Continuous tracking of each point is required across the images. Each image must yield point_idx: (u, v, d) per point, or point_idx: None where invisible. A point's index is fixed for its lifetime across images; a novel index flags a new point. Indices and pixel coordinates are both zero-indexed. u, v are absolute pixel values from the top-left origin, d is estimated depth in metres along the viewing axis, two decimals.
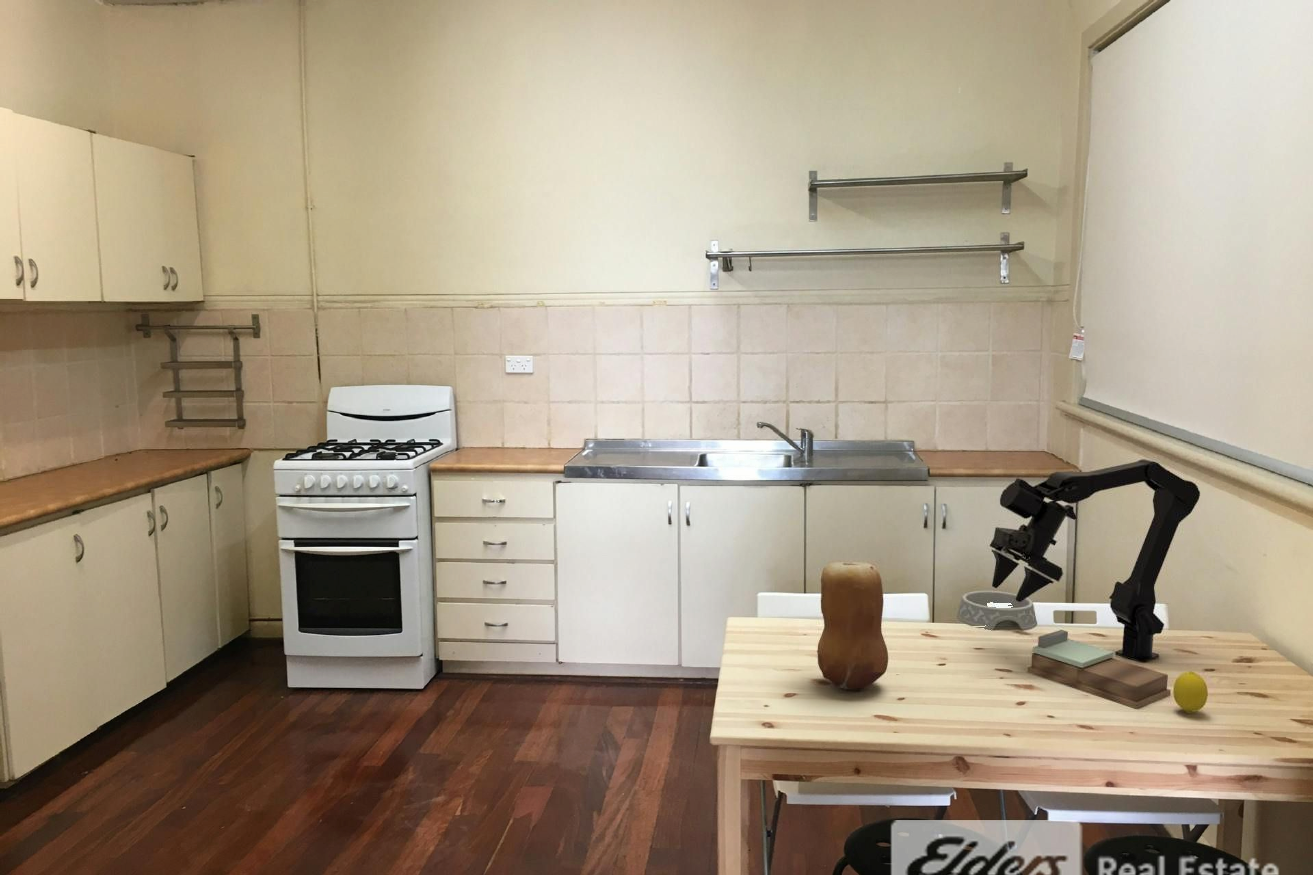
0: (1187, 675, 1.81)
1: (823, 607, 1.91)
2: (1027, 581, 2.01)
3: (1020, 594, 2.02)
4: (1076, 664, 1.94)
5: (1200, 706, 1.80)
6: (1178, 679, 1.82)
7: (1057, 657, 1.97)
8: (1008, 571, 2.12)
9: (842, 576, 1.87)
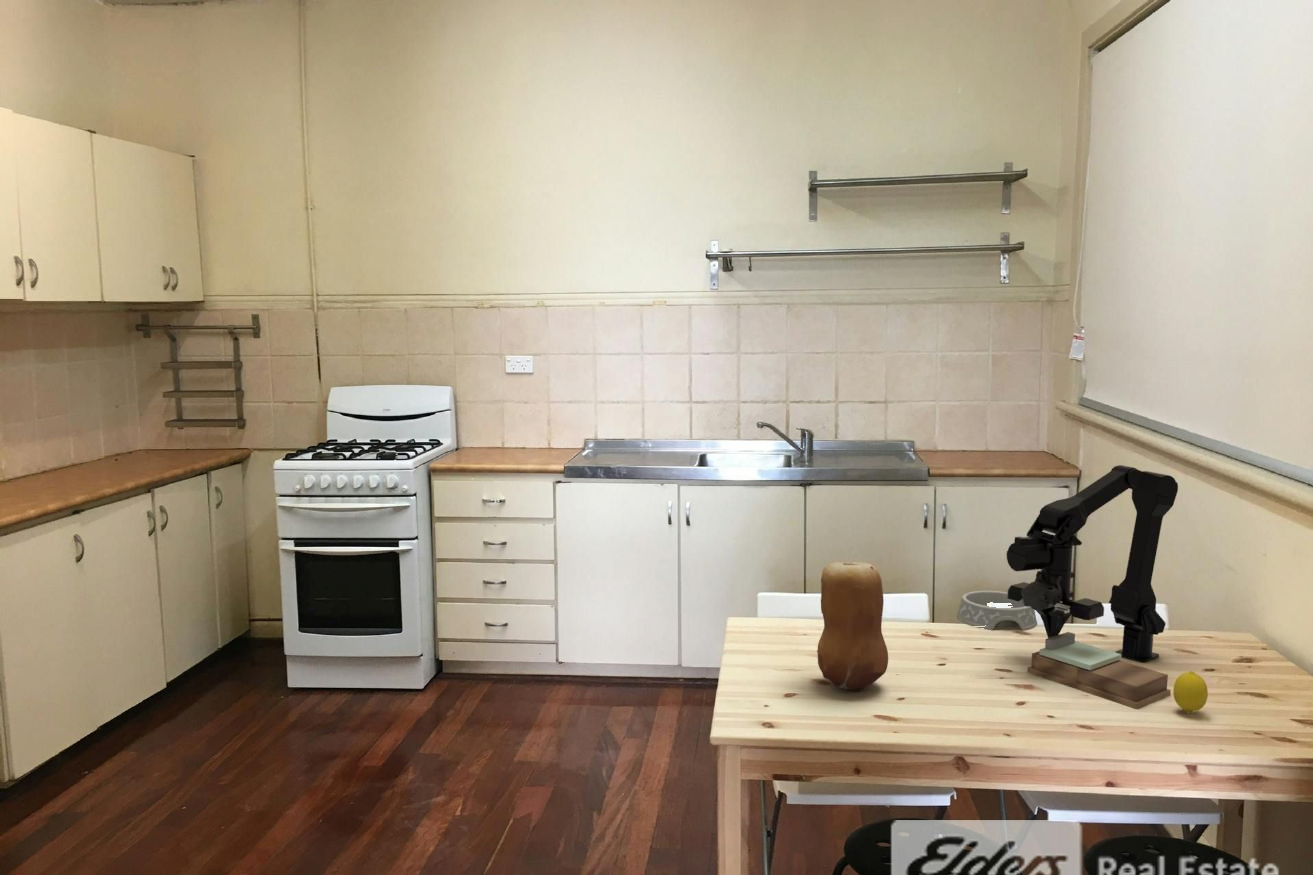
0: (1187, 675, 1.81)
1: (823, 607, 1.91)
2: (1056, 623, 2.02)
3: (1054, 635, 2.03)
4: (1084, 666, 1.93)
5: (1200, 706, 1.80)
6: (1178, 679, 1.82)
7: (1064, 659, 1.96)
8: None
9: (842, 576, 1.87)
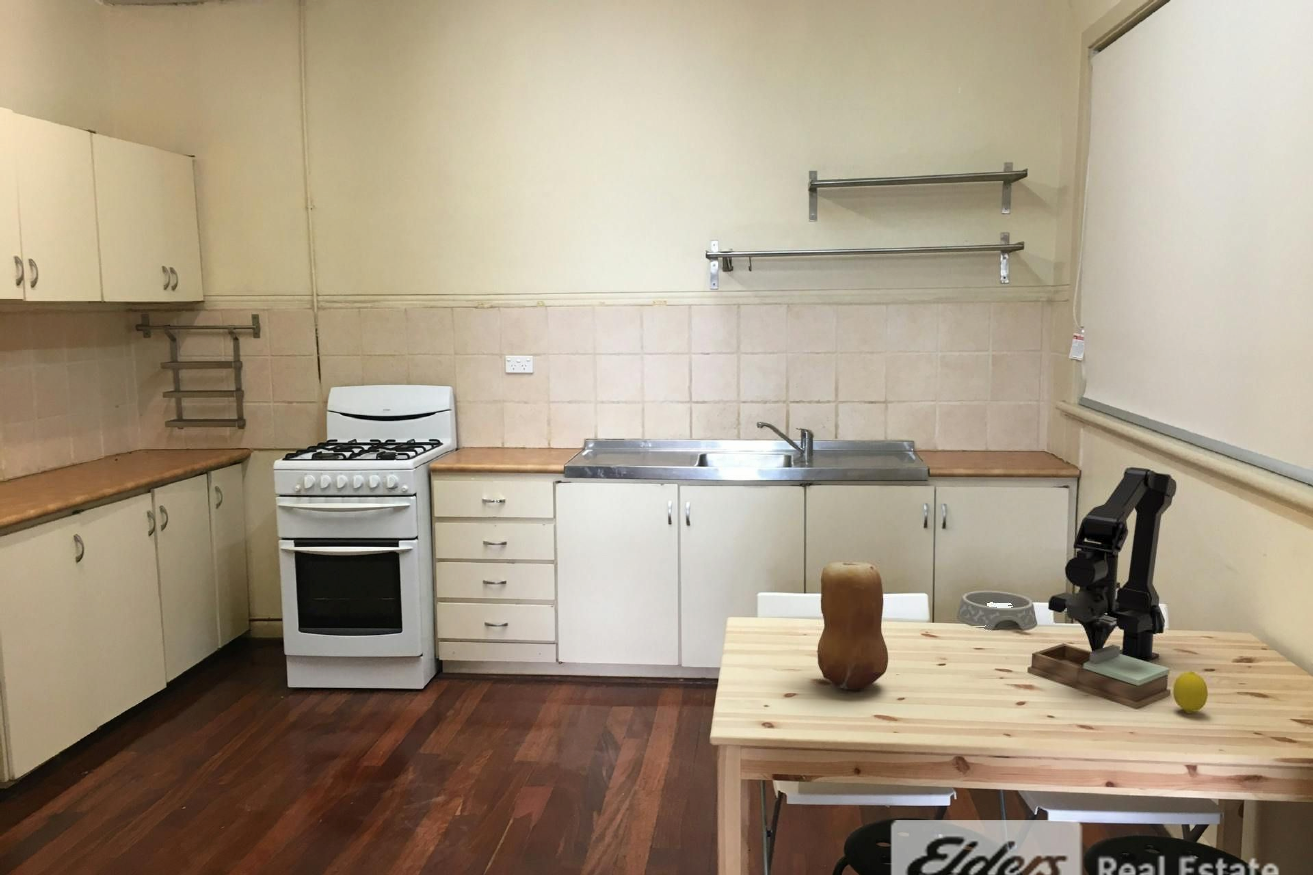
0: (1187, 675, 1.81)
1: (823, 607, 1.91)
2: (1101, 635, 1.94)
3: (1098, 648, 1.95)
4: (1132, 682, 1.85)
5: (1200, 706, 1.80)
6: (1178, 679, 1.82)
7: (1111, 674, 1.88)
8: None
9: (842, 576, 1.87)
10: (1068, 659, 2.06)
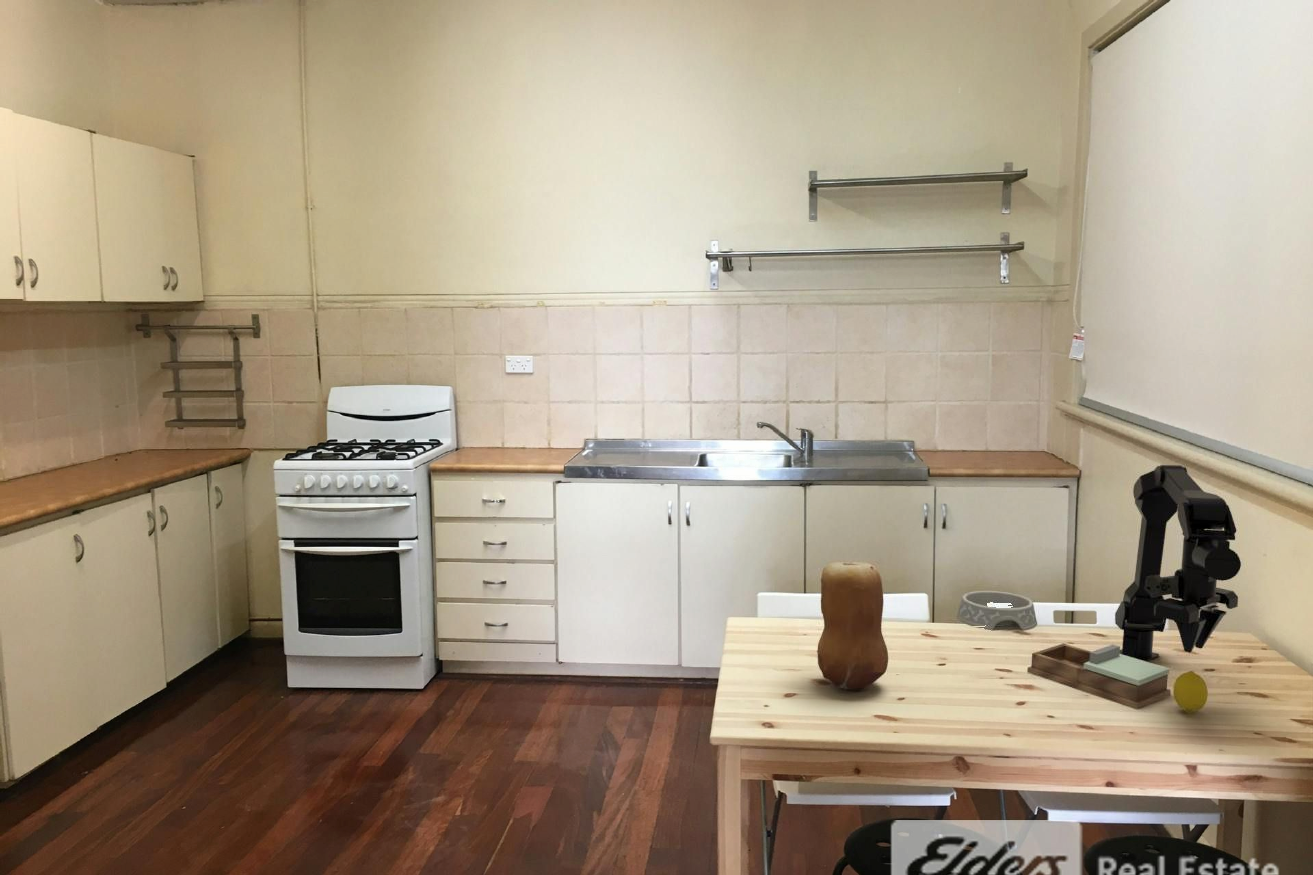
0: (1187, 675, 1.81)
1: (823, 607, 1.91)
2: (1178, 627, 1.79)
3: (1183, 643, 1.79)
4: (1132, 682, 1.85)
5: (1200, 706, 1.80)
6: (1178, 679, 1.82)
7: (1111, 674, 1.88)
8: (1208, 626, 1.80)
9: (842, 576, 1.87)
10: (1068, 659, 2.06)
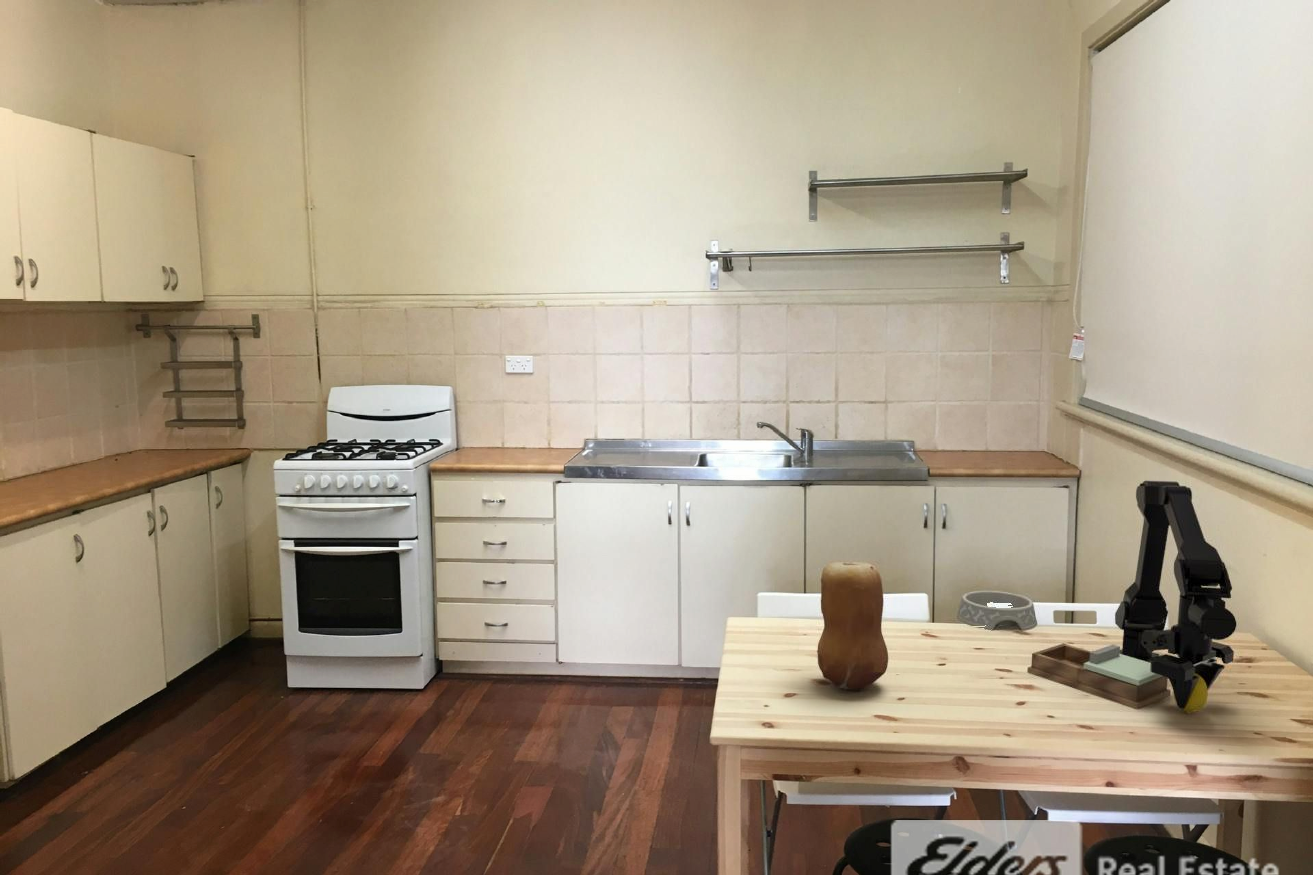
0: None
1: (823, 607, 1.91)
2: (1171, 683, 1.80)
3: (1176, 700, 1.80)
4: (1132, 682, 1.85)
5: (1200, 706, 1.80)
6: None
7: (1111, 674, 1.88)
8: (1207, 680, 1.82)
9: (842, 576, 1.87)
10: (1068, 659, 2.06)
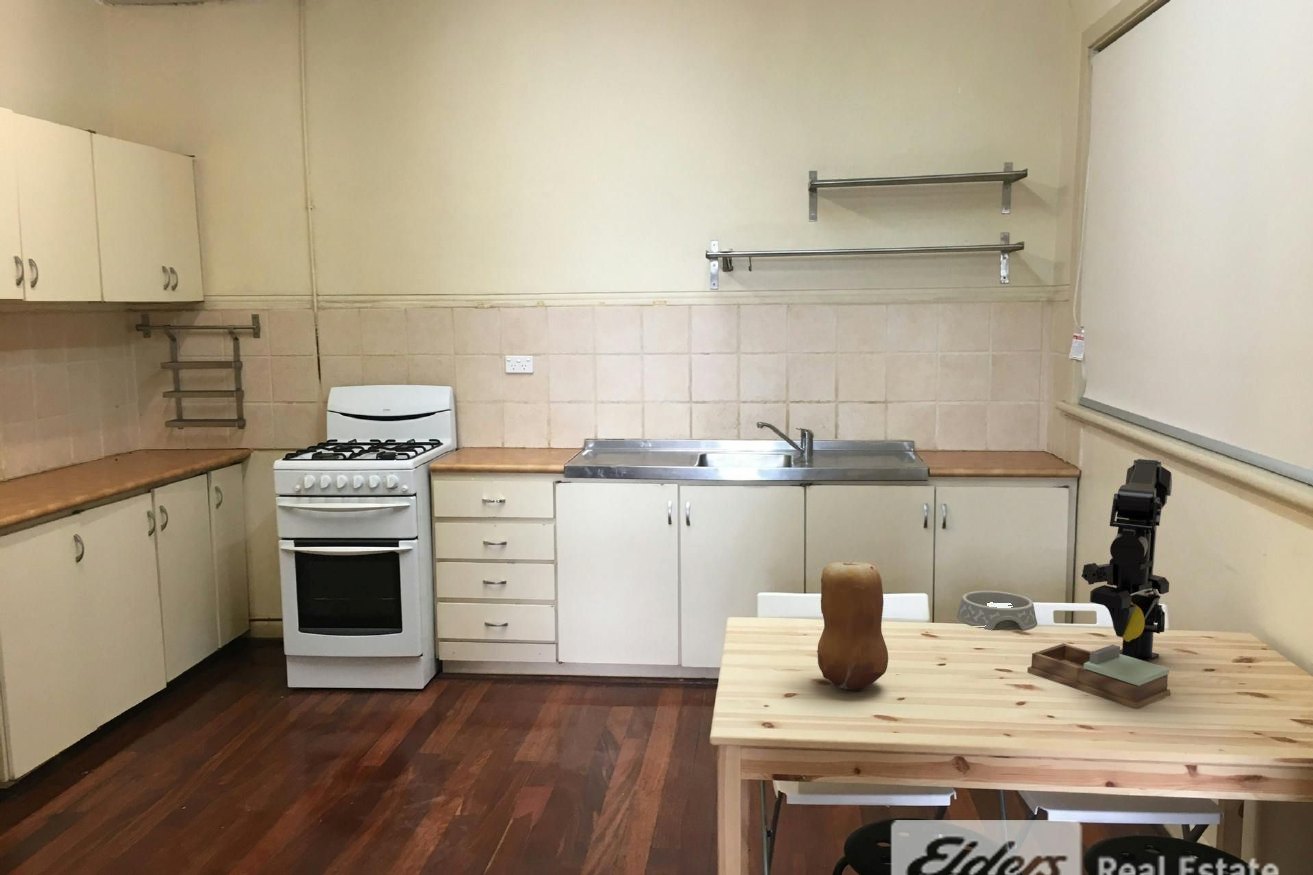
0: None
1: (823, 607, 1.91)
2: (1110, 613, 1.89)
3: (1115, 628, 1.89)
4: (1132, 682, 1.85)
5: (1137, 634, 1.89)
6: None
7: (1111, 674, 1.88)
8: (1144, 609, 1.91)
9: (842, 576, 1.87)
10: (1068, 659, 2.06)
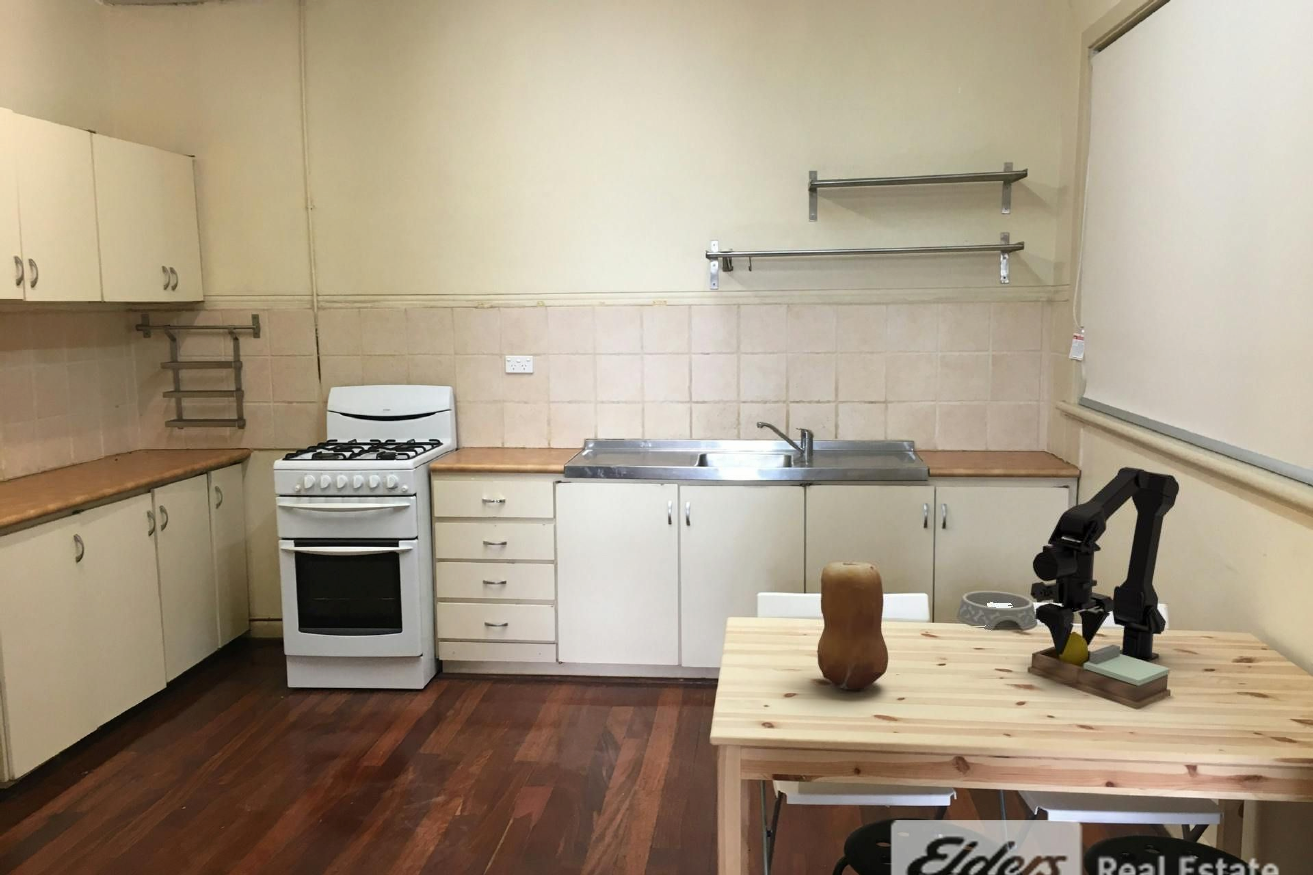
0: None
1: (823, 607, 1.91)
2: (1050, 631, 1.97)
3: (1055, 646, 1.98)
4: (1132, 682, 1.85)
5: (1081, 663, 1.98)
6: None
7: (1111, 674, 1.88)
8: (1093, 625, 2.02)
9: (842, 576, 1.87)
10: None
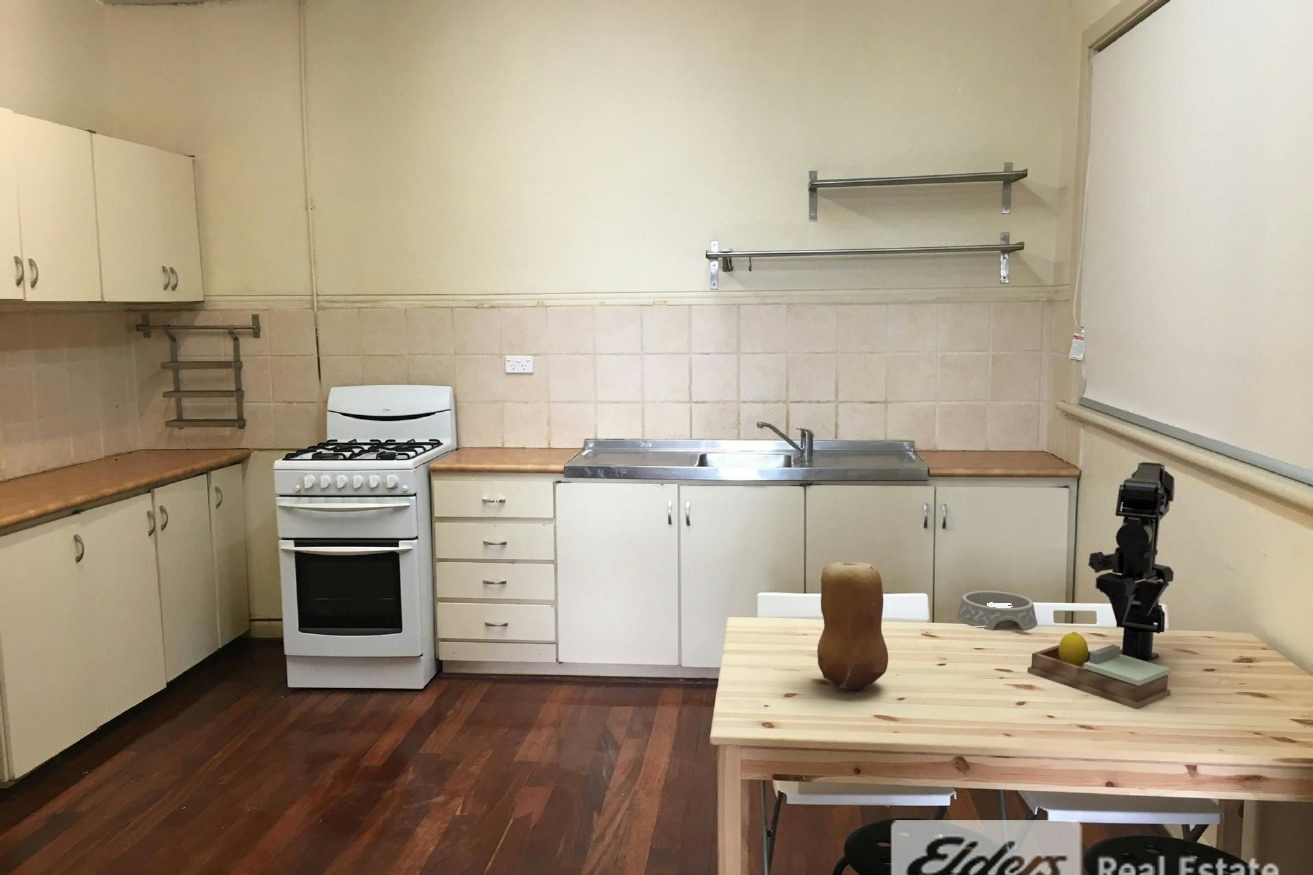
0: (1069, 635, 2.00)
1: (823, 607, 1.91)
2: (1110, 601, 1.95)
3: (1115, 616, 1.95)
4: (1132, 682, 1.85)
5: (1081, 663, 1.98)
6: (1062, 639, 2.01)
7: (1111, 674, 1.88)
8: (1153, 596, 1.99)
9: (842, 576, 1.87)
10: None
